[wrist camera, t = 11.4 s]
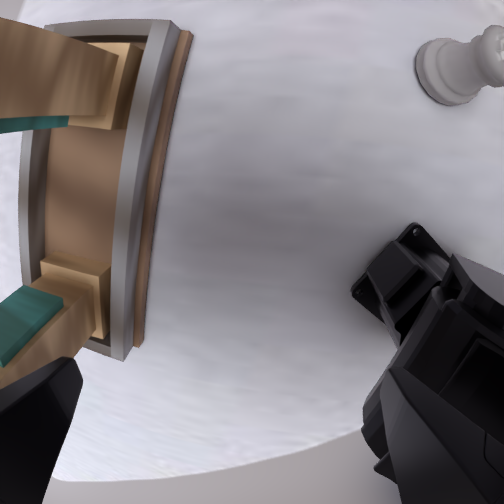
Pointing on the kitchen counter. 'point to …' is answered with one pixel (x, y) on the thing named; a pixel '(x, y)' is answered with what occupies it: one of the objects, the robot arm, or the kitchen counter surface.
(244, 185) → the kitchen counter surface
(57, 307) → the oak finger
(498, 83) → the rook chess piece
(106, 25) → the weathered wooden tray
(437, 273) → the robot arm
